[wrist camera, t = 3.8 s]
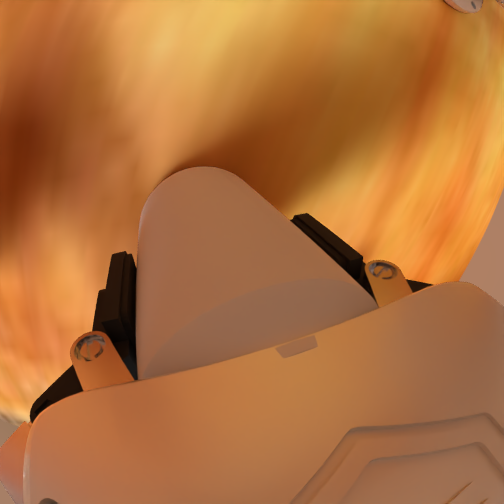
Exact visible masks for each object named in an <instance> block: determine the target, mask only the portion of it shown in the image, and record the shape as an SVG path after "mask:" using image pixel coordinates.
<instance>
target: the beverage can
mask: <svg viewBox="0 0 504 504" xmlns="http://www.w3.org/2000/svg"><path fill="white" fill-rule="evenodd" d="M377 308H378V306H377V304H376V302H375V301H374V299H373V298H372V297H371V295H370V294H369V293H368V292H367V291H366V290H364V289H363V288H362V287H361V286H360V285H359V284H358V283H357V282H356V281H355V280H354V279H353V278H352V277H351V276H350V275H349V274H348V273H347V272H346V271H345V270H344V269H342V268H341V267H340V266H339V265H338V264H337V263H336V262H335V261H334V260H333V259H332V258H331V257H330V256H329V255H327V254H326V253H325V252H324V251H323V250H322V249H321V248H320V247H319V246H318V245H317V244H315V243H314V242H313V241H312V240H311V239H310V238H309V237H308V236H307V235H306V234H304V233H303V232H302V231H301V230H300V229H299V228H298V227H297V226H295V225H294V224H293V223H292V222H291V221H290V220H289V219H288V218H286V217H285V216H284V215H283V214H282V213H281V212H280V211H278V210H277V209H276V208H275V207H274V206H273V205H272V204H270V203H269V202H268V201H267V200H266V199H265V198H263V197H262V196H261V195H260V194H259V193H258V192H256V191H255V190H254V189H253V188H252V187H250V186H249V185H248V184H247V183H246V182H245V181H243V180H242V179H241V178H239V177H238V176H237V175H235V174H233V173H231V172H229V171H227V170H224V169H220V168H217V167H207V166H202V167H193V168H188V169H185V170H182V171H179V172H177V173H175V174H173V175H171V176H169V177H168V178H166V179H165V180H164V181H162V182H161V183H160V184H159V185H158V186H157V187H156V188H155V189H154V190H153V192H152V193H151V194H150V196H149V197H148V199H147V201H146V203H145V205H144V207H143V210H142V213H141V218H140V224H139V237H138V251H137V270H136V356H137V374H138V380H140V379H145V378H150V377H155V376H160V375H164V374H169V373H174V372H178V371H182V370H187V369H191V368H195V367H199V366H203V365H207V364H211V363H215V362H219V361H223V360H227V359H230V358H234V357H238V356H242V355H245V354H249V353H253V352H256V351H260V350H263V349H267V348H270V347H273V346H277V345H280V344H283V343H286V342H289V341H292V340H295V339H298V338H301V337H304V336H307V335H310V334H312V333H315V332H318V331H320V330H323V329H326V328H328V327H331V326H333V325H336V324H339V323H341V322H344V321H346V320H349V319H351V318H354V317H357V316H359V315H362V314H364V313H367V312H369V311H372V310H374V309H377ZM316 347H318V344H317V341H316V338H315V335H313V336H309V337H306V338H303V339H299V340H296V341H293V342H290V343H288V344H285V345H282V346H279V347H277V348H275V350H276V351H277V352H278V353H279V354H280V355H281V356H282V357H283V358H287V357H290V356H293V355H296V354H299V353H302V352H305V351H308V350H310V349H313V348H316Z"/></svg>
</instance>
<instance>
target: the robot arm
mask: <svg viewBox="0 0 504 504" xmlns="http://www.w3.org/2000/svg"><path fill="white" fill-rule="evenodd" d="M444 1H445V2H446V3H448V4H449V5H450V6H452V7H453V8H454V9H456V10H458V11H460V12H463V13H476V12H478V11H479V10H480V9H481V7H482V3H483V0H444ZM496 1H497V2H498V3H499V4H500V5H501V6H502V7H503V8H504V0H496ZM290 221H291V222H292V223H293V224H294V225H295V226H297V227H298V228H299V229H300V230H301V231H302V232H303V233H304V234H306V235H307V236H308V237H309V238H310V239H311V240H312V241H313V242H314V243H315V244H317V245H318V246H319V247H320V248H321V249H322V250H323V251H324V252H325V253H326V254H327V255H329V256H330V257H331V258H332V259H333V260H334V261H335V262H336V263H337V264H338V265H339V266H340V267H341V268H342V269H344V270H345V271H346V272H347V273H348V274H349V275H350V276H351V277H352V278H353V279H354V280H355V281H356V282H357V283H358V284H359V285H360V286H361V287H362V288H363V289H364V290H366V291H367V292H368V293H369V294H370V295H371V297H372V298H373V299H374V301H375V302H376V304H377V306H378V308H377V309H374V310H372V311H369V312H367V313H364V314H362V315H359V316H357V317H354V318H351V319H349V320H346V321H344V322H341V323H339V324H336V325H333V326H331V327H328V328H326V329H323V330H320V331H318V332H315V333H312V334H310V335H307V336H304V337H301V338H298V339H295V340H292V341H289V342H286V343H283V344H280V345H277V346H273V347H270V348H267V349H263V350H260V351H256V352H253V353H249V354H245V355H242V356H238V357H234V358H230V359H227V360H223V361H219V362H215V363H211V364H207V365H203V366H199V367H195V368H191V369H187V370H182V371H178V372H174V373H169V374H164V375H160V376H155V377H150V378H145V379H140V380H138V374H137V356H136V270H137V269H136V266H135V262H134V259H133V256H132V254H127V253H126V251H124V252H119V253H115V254H112V257H111V262H110V267H109V273H108V278H107V284H106V289H103V290H100V291H99V293H98V298H97V304H96V310H95V316H94V322H93V329H92V332H88V333H85V334H83V335H82V336H80V337H79V338H78V339H77V340H76V341H75V342H74V343H73V345H72V347H71V350H70V357H71V360H72V363H73V365H72V366H71V367H70V368H69V369H68V370H67V371H66V372H64V373H63V374H62V375H61V376H60V377H59V378H58V379H57V380H56V381H55V382H54V383H53V384H52V385H51V386H50V387H49V388H48V389H47V390H46V391H45V392H44V393H43V394H42V395H41V396H40V397H39V398H38V399H37V400H36V401H35V402H34V404H33V405H32V408H31V411H30V420H31V421H30V422H29V423H27V422H25V421H24V422H23V424H22V425H21V426H20V427H19V428H18V429H17V430H16V431H15V432H14V433H13V434H12V435H11V437H10V438H9V439H8V440H7V441H6V442H5V443H4V444H3V445H2V446H1V448H0V481H1V483H2V484H3V486H4V488H5V489H6V490H7V492H8V494H9V495H10V496H11V498H12V499H13V501H14V502H15V504H504V306H503V305H502V304H500V303H499V302H498V301H497V300H495V299H494V298H493V297H492V296H490V295H489V294H487V293H486V292H485V291H483V290H482V289H480V288H479V287H477V286H475V285H474V284H471V283H468V282H446V283H441V284H436V285H433V284H427V283H422V282H417V281H412V280H407V279H405V277H404V275H403V273H402V272H401V270H400V269H399V267H398V266H396V265H395V264H393V263H391V262H389V261H385V260H373V261H370V262H368V263H367V264H365V263H364V262H363V256H362V255H360V254H359V253H358V252H357V251H355V250H354V249H353V248H352V247H350V246H349V245H348V244H347V243H345V242H344V241H343V240H342V239H340V238H339V237H338V236H337V235H335V234H334V233H333V232H331V231H330V230H329V229H328V228H326V227H325V226H324V225H322V224H321V223H320V222H318V221H317V220H316V219H315V218H313V217H312V216H311V215H309V214H308V213H305V214H299V215H294V217H293V219H291V220H290ZM313 335H315V338H316V341H317V344H318V347H316V348H313V349H310V350H308V351H305V352H302V353H299V354H296V355H293V356H290V357H287V358H283V357H282V356H281V355H280V354H279V353H278V352H277V351H276V350H275V348H277V347H279V346H282V345H285V344H288V343H290V342H293V341H296V340H299V339H303V338H306V337H309V336H313Z"/></svg>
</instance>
